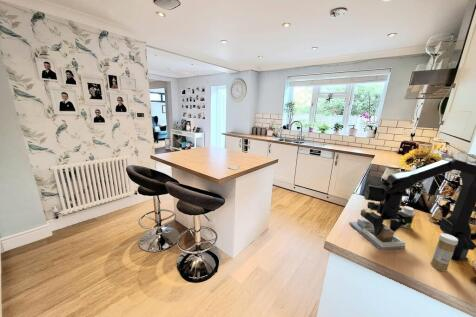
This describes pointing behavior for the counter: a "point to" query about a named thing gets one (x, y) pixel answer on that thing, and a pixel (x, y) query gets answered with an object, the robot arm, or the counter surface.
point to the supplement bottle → (409, 212)
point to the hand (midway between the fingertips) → (383, 234)
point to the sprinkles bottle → (444, 251)
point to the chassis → (368, 232)
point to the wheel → (365, 212)
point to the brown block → (385, 234)
